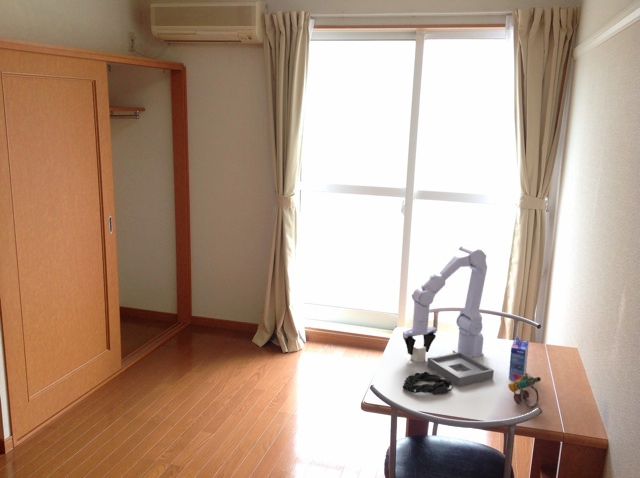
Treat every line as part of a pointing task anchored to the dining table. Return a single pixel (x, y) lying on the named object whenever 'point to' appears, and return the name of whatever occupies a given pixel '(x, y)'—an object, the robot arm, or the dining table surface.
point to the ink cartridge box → (518, 359)
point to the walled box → (453, 361)
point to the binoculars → (524, 393)
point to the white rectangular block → (418, 353)
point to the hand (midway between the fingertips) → (418, 352)
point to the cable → (427, 388)
